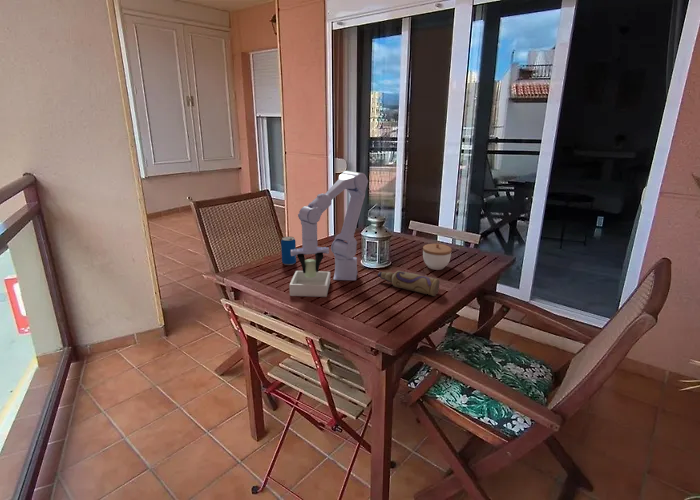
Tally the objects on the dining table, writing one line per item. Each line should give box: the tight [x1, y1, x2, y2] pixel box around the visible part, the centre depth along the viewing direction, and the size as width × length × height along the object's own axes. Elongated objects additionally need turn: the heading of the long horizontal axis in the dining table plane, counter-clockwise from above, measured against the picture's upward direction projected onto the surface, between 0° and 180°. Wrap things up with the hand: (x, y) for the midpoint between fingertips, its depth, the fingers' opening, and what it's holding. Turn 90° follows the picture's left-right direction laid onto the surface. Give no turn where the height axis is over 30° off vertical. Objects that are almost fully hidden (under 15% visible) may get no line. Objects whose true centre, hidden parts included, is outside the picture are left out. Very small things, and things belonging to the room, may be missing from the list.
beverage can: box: [280, 236, 297, 266], centre depth 181 cm, size 6×6×12 cm
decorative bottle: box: [377, 270, 441, 297], centre depth 158 cm, size 26×8×7 cm, turn 56°
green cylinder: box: [305, 258, 316, 278], centre depth 154 cm, size 4×4×6 cm
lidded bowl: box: [422, 242, 453, 271], centre depth 179 cm, size 13×13×11 cm
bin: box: [289, 270, 331, 298], centre depth 156 cm, size 14×14×5 cm
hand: (310, 271), depth 155 cm, fingers closed on green cylinder, 4 cm apart
